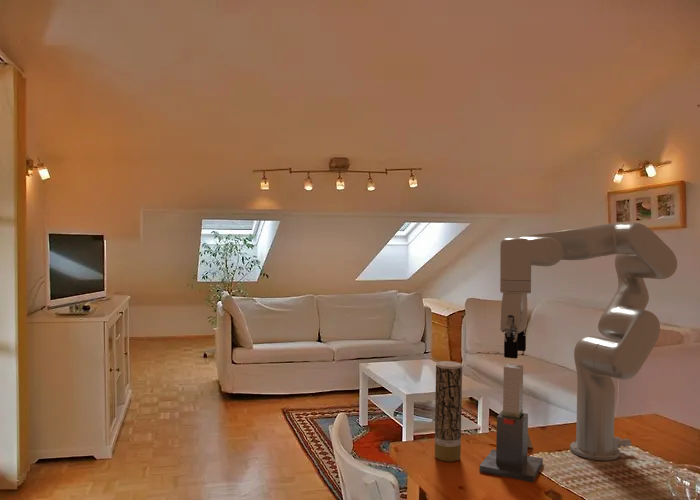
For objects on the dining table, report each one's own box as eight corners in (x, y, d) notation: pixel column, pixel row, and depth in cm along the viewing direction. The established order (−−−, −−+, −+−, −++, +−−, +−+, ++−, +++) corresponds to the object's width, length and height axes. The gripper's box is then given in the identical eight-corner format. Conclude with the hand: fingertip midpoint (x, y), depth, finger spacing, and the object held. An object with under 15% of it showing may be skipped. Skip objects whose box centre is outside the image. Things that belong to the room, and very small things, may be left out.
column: (505, 432, 151) (507, 363, 150) (522, 435, 149) (523, 365, 148) (501, 437, 147) (503, 366, 147) (518, 440, 145) (520, 368, 145)
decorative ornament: (519, 449, 161) (519, 430, 161) (508, 438, 170) (508, 420, 170) (533, 449, 162) (533, 430, 162) (522, 438, 170) (522, 420, 170)
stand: (492, 454, 157) (493, 404, 157) (542, 464, 151) (543, 412, 150) (479, 471, 145) (480, 418, 145) (533, 482, 139) (534, 426, 139)
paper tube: (460, 463, 150) (462, 367, 150) (433, 461, 152) (435, 366, 151) (460, 454, 157) (462, 361, 156) (435, 452, 158) (436, 360, 158)
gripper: (508, 283, 156) (508, 346, 157) (492, 289, 141) (491, 359, 142) (537, 284, 153) (536, 349, 153) (523, 290, 138) (523, 362, 138)
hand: (515, 354), depth 148 cm, fingers open, 9 cm apart
